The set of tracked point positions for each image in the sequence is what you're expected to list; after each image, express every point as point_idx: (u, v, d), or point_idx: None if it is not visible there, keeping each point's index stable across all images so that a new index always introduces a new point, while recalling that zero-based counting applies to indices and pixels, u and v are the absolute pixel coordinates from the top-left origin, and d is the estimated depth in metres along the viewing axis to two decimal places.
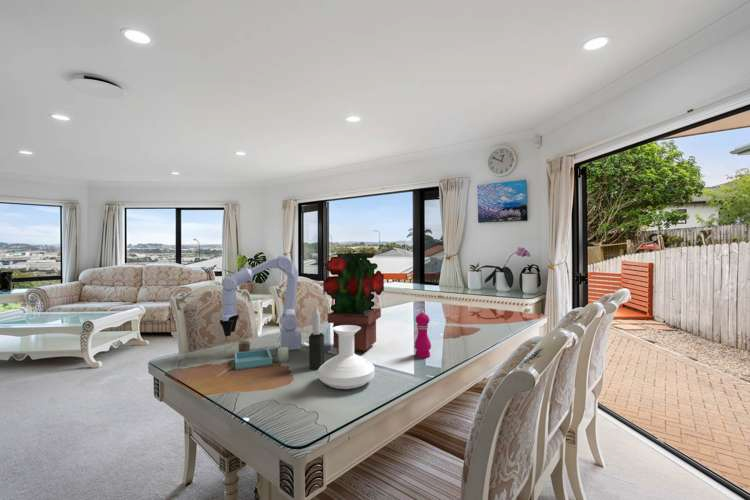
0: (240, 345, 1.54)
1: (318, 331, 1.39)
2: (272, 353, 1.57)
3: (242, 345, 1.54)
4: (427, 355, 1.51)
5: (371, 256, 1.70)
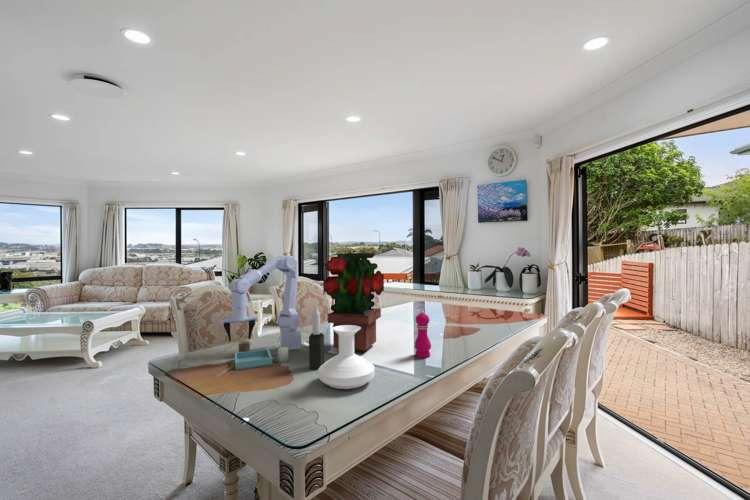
0: (240, 345, 1.54)
1: (318, 331, 1.39)
2: (272, 353, 1.57)
3: (242, 345, 1.54)
4: (427, 355, 1.51)
5: (371, 256, 1.70)
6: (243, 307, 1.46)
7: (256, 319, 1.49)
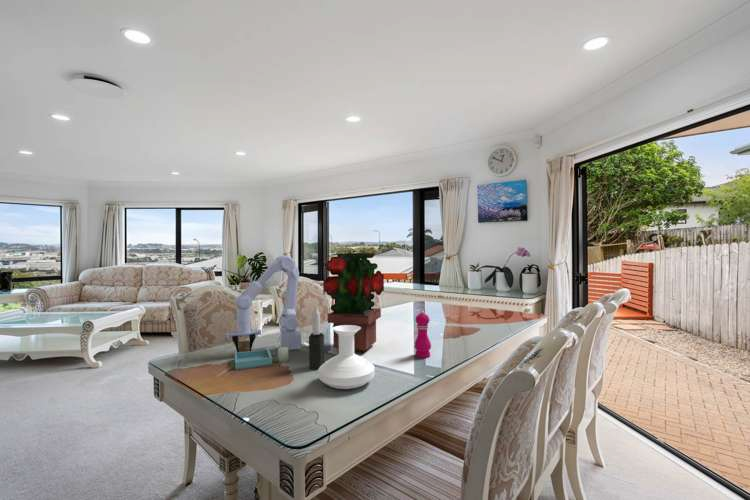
0: (240, 345, 1.54)
1: (318, 331, 1.39)
2: (272, 353, 1.57)
3: (242, 345, 1.54)
4: (427, 355, 1.51)
5: (371, 256, 1.70)
6: (245, 322, 1.54)
7: (259, 333, 1.58)
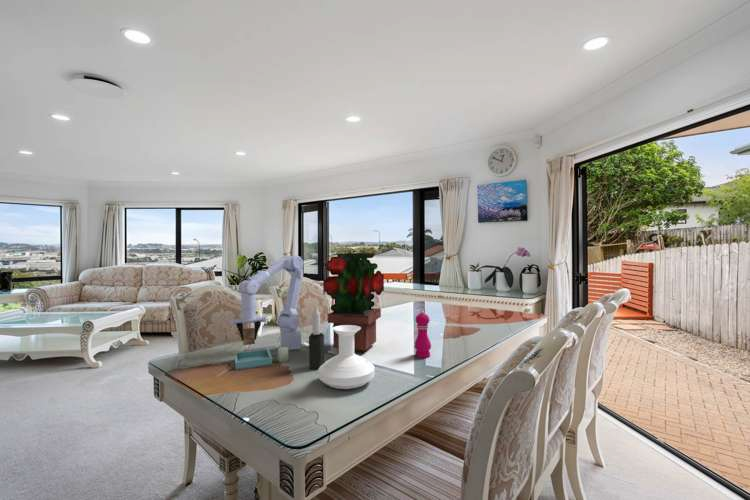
0: (245, 332, 1.48)
1: (318, 331, 1.39)
2: (272, 353, 1.57)
3: (247, 332, 1.49)
4: (427, 355, 1.51)
5: (371, 256, 1.70)
6: (252, 308, 1.49)
7: (265, 320, 1.52)
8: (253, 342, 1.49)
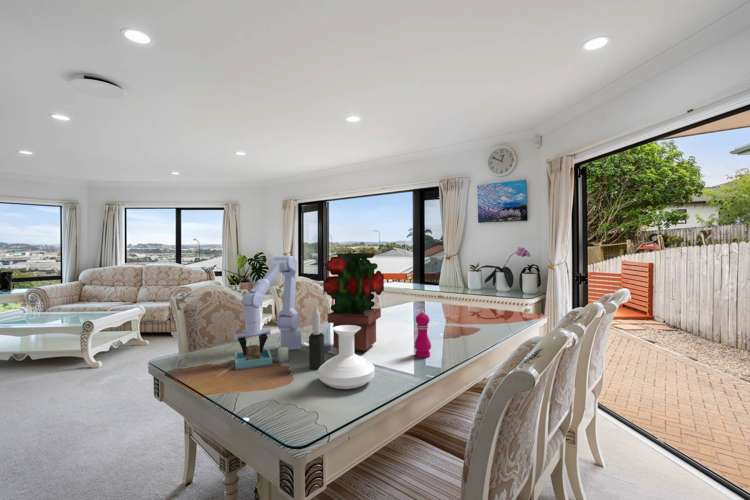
0: (250, 350, 1.44)
1: (318, 331, 1.39)
2: (272, 353, 1.57)
3: (252, 350, 1.45)
4: (427, 355, 1.51)
5: (371, 256, 1.70)
6: (258, 321, 1.46)
7: (269, 332, 1.50)
8: None
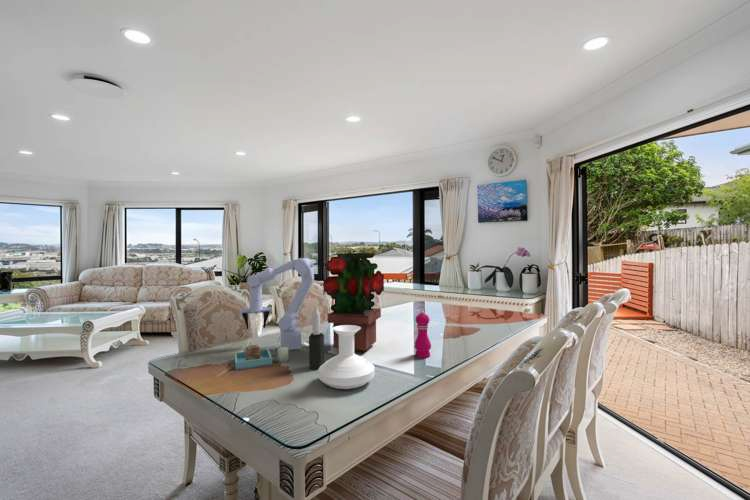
0: (250, 350, 1.44)
1: (318, 331, 1.39)
2: (272, 353, 1.57)
3: (252, 350, 1.45)
4: (427, 355, 1.51)
5: (371, 256, 1.70)
6: (253, 300, 1.66)
7: (270, 310, 1.71)
8: None
